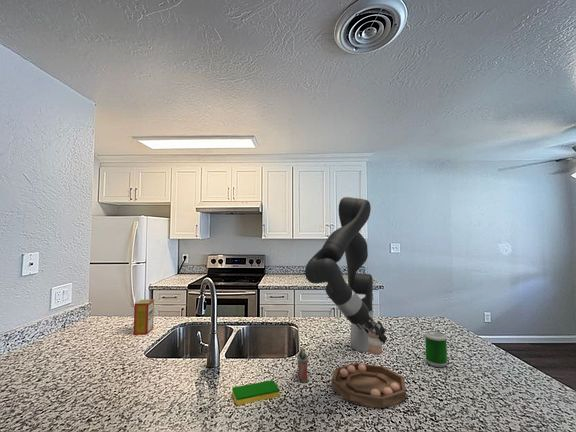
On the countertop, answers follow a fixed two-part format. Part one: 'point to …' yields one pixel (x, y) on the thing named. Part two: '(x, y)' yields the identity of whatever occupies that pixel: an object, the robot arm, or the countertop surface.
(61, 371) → the countertop surface
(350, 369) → the seated beads
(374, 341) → the bead stack
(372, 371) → the bead tray
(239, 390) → the dish sponge
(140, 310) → the baking soda box
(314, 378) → the countertop surface
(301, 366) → the lighter
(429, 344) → the soda can
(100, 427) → the countertop surface
